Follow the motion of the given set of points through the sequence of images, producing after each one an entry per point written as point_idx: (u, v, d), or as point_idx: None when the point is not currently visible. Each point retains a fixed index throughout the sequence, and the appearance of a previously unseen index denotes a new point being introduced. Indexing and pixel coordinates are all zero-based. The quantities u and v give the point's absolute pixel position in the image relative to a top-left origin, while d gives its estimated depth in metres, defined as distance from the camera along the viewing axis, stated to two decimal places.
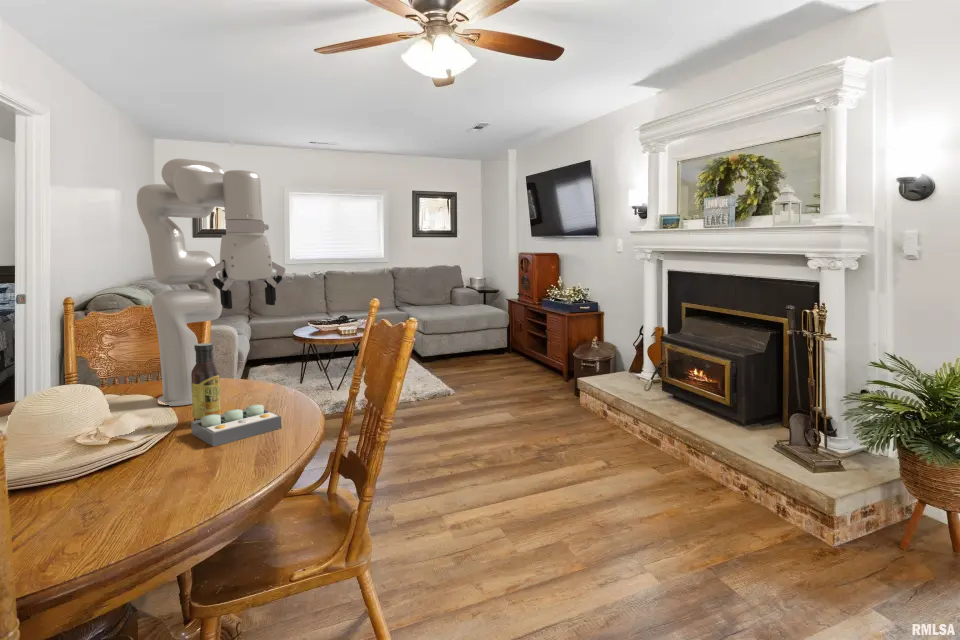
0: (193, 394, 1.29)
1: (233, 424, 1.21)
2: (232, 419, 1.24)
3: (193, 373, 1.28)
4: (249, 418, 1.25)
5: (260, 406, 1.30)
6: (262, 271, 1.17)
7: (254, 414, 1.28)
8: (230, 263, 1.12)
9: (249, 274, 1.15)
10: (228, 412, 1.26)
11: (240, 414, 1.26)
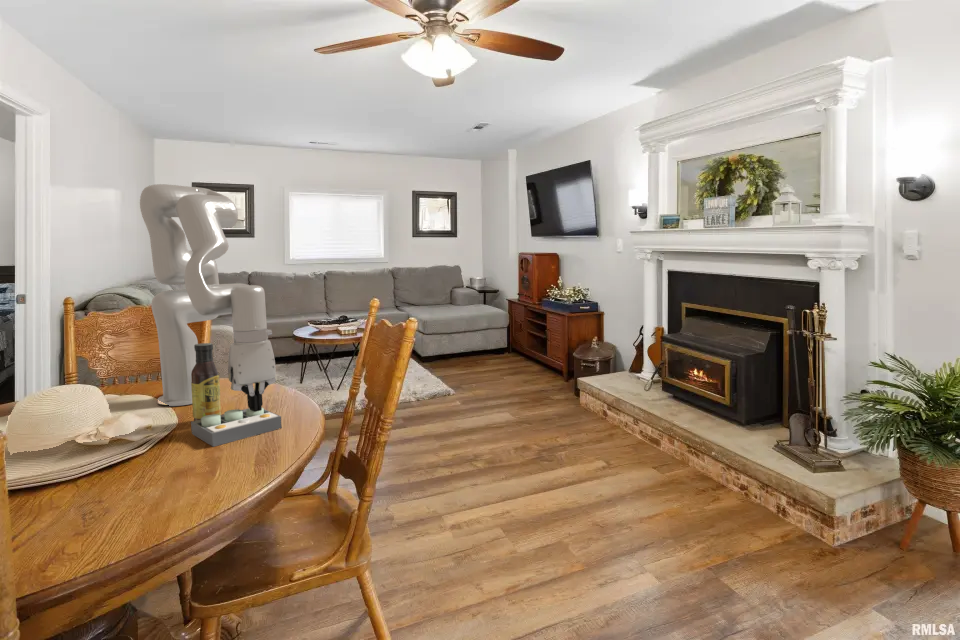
0: (193, 394, 1.29)
1: (233, 424, 1.21)
2: (232, 419, 1.24)
3: (193, 373, 1.28)
4: (249, 418, 1.25)
5: None
6: (266, 373, 1.29)
7: None
8: (238, 370, 1.24)
9: (255, 378, 1.27)
10: (228, 412, 1.26)
11: (240, 414, 1.26)
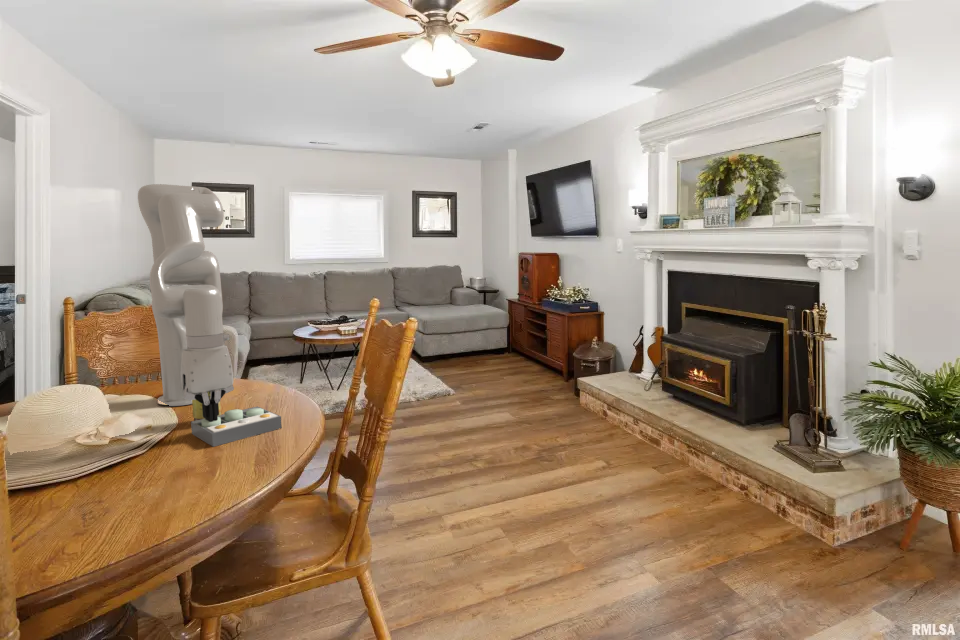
0: None
1: (233, 424, 1.21)
2: (232, 419, 1.24)
3: None
4: (249, 418, 1.25)
5: (260, 410, 1.30)
6: (223, 381, 1.21)
7: None
8: (190, 378, 1.16)
9: (209, 386, 1.19)
10: (228, 412, 1.26)
11: (240, 414, 1.26)
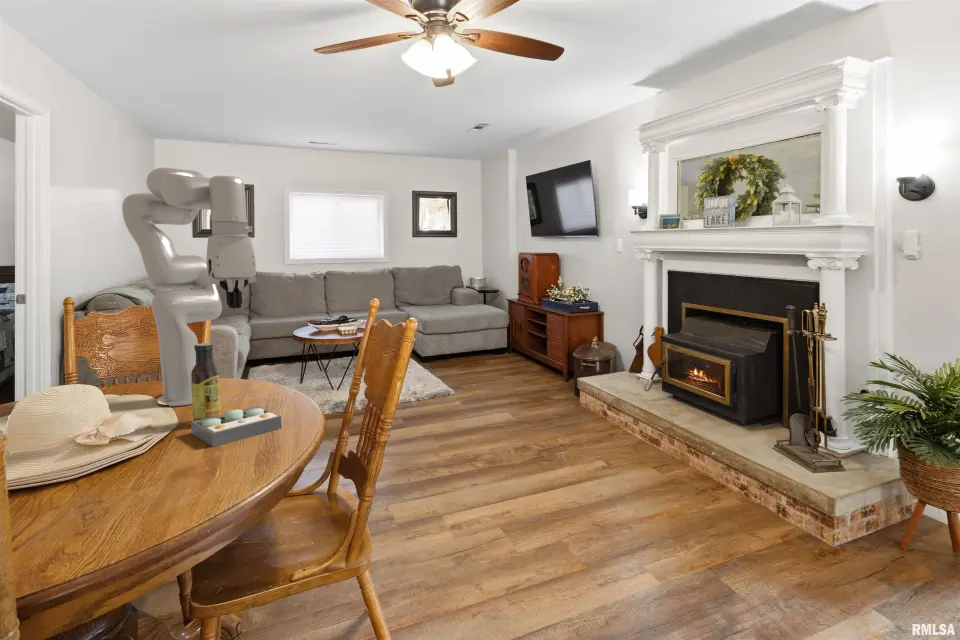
0: (193, 394, 1.29)
1: (233, 424, 1.21)
2: (232, 419, 1.24)
3: (193, 373, 1.28)
4: (249, 418, 1.25)
5: (260, 410, 1.30)
6: (246, 270, 1.26)
7: None
8: (216, 262, 1.20)
9: (234, 272, 1.24)
10: (228, 412, 1.26)
11: (240, 414, 1.26)
